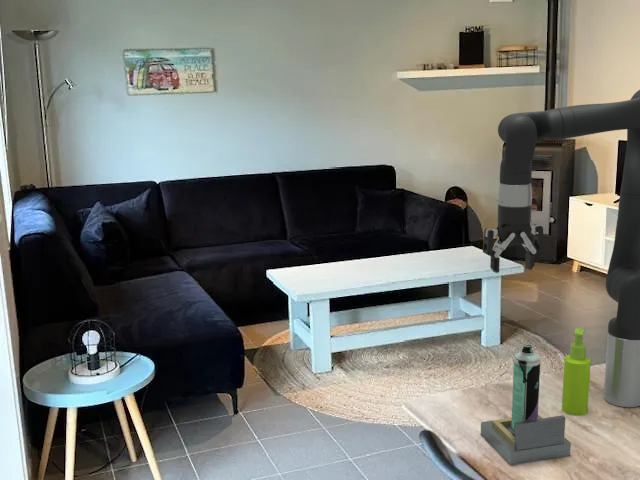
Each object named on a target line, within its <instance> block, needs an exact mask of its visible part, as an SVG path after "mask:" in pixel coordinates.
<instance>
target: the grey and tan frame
mask: <svg viewBox="0 0 640 480" xmlns="http://www.w3.org/2000/svg"><path fill="white" fill-rule="evenodd" d="M511 424H512V417H507V418H500V419H494V420H493V419H492V420H487V421H481V422H480V436H482V438H483V439H484V440H485V441H486V442H487V443H488V444H489V445H491V447H492V448H493V449H494V450H495V451H496V452H497V453H498V454H499V455H500V456H501V457H502V459H503V460H505V461H506V463H507V464H509V466H515V465H522V464H526V463H532V462H539V461H545V460H551V459H552V460H553V459H558V458H564V457H570V456H571V449H572V447H571V446H572V442H571V441H570V440H568V439H567V438H566V437H565V436H566V435H565V434H566V431H565V430H566V416H565V415H555V416H548V417H544V418H543V417H541V416H540V415H539V414H538V419H535V420H528V421H521V422H515V434H513V433H512V431H511Z"/></svg>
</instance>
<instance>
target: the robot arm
mask: <svg viewBox="0 0 640 480" xmlns="http://www.w3.org/2000/svg"><path fill="white" fill-rule="evenodd" d="M621 130H626V132H627V133H626V149H625V150H626V151H625V156H624V164H623V172H622V179H621V180H622V181H621V187H620V191H619V192H620V193H619V201H618V209H617V210H618V211H617V219H616V227H615V235H614V241H613V242H614V243H613V249H612V253H611V256H610V259H609V260H610V261H609V265H608V270H607V274H606V278H605V290H606V292H607V294H608V296H609V298H611V299H612V300H613V301H615V302H616V303H617V309H616V310H617V311H616V316H615V317H612V318H611V319H609V321H608V326H607V339H606V340H607V341H606V342H607V343H606V355H605V356H606V357H605V369H604V383H603V398H604V400H605V401H606V402H607V403H609V404H612V405H614V406H617V407H618V406H619V407H623V408H637V407H640V89H639V90H637V91H636V92H635V93H633V95H632V96H631V97H630V99H628V100H623V101H615V102H604V103H589V104H587V103H586V104H577V105H570V106H564V107H557V108H552V109H548V110H542V111H540V110H539V111H525V112H518V113H517V112H516V113H511V114H508V115H506V116H504V117H503V118H502V119H501V120H500V122H499V123H498V127H497V133H498V137H499V138H500V139H501V141H502V142H504V143H505V148H504V157H503V159H501V161H500V164H499V165H500V166H499V186H498V194H497V218H496V219H497V221H496V222H497V226H496V228H495V229H494V228H493V229H491V228H488V227H486V228H485V229H484V230H483V232H484V233H483V243H482V253H484V254H485V255H488V256H490V266H489V267H490V269H491V271H492V272H494V273H495V274H498V273H500V261H501V260H500V259H501V258H500V256H501V254H502V252H503V251H505V250H506V249H507V247H514V246H518V247H519V246H523V248H524V249H525V250H526V251H527V252H525V263H524V264H525V265H524V267H525V268H526V269H527V270H529V271H530V270H533V268H534V266H535V263H536V261H535V260H536V253H538V252H541V251H543V250H544V227H543V226H542V225H540V224H537V223H535V224H533V225H531V222H532V203H533V202H532V201H533V191H532V190H533V189H532V173H533V171H532V169H533V168H532V167H533V166H532V164H533V160H534V156H535V152H536V146H537V141H541V140H546V141H558V140H560V141H561V140H565V139H572V138H578V137H583V136H590V135H595V134H601V133H607V132H613V131H621ZM531 234H532V235H533V236H532V237H533V240H532V241H533V243H532V241H531V240H530V238H529V236H530V235H531ZM496 236H497V239H496V240H495V242H494V239H495V238H496Z"/></svg>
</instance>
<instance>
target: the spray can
mask: <svg viewBox="0 0 640 480" xmlns="http://www.w3.org/2000/svg"><path fill="white" fill-rule="evenodd" d="M512 371H513V375H512V376H513V377H512V398H511V399H512V402H511V403H512V405H511V418H512V424H511V431H512V433H513V434H515V422H521V421H528V420H535V419H538V415H539V397H540V373H541V356H540V355H539V354H537V353H535V351H534V350H533V347H532V345H531V344H526V345H524V346H523V348H522V349H521V350H520V351H519V352H516V353H515V354H514V358H513V370H512Z"/></svg>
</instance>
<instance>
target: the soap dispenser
mask: <svg viewBox="0 0 640 480" xmlns="http://www.w3.org/2000/svg"><path fill="white" fill-rule="evenodd" d="M585 332H586V328H585V327H578V326H577V327H575V330H574V333H573V336H574V342H572V343H571V344H570V350H569V351H570V353H569V354H566V355H565V356H564V357H563V358H564V359H563V361H564V362H563V379H562V380H563V382H562V396H561V397H562V398H561V399H562V400H561V410H562V412H564V413H565V414H567V415H571V416H584V415H586V414H587V413H588V410H589V393H590V376H591V363H592V362H591V361H592V360H591V358H590V357H589V356H586V352H587V346H586V344H585V343H583V337H584V333H585Z"/></svg>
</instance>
